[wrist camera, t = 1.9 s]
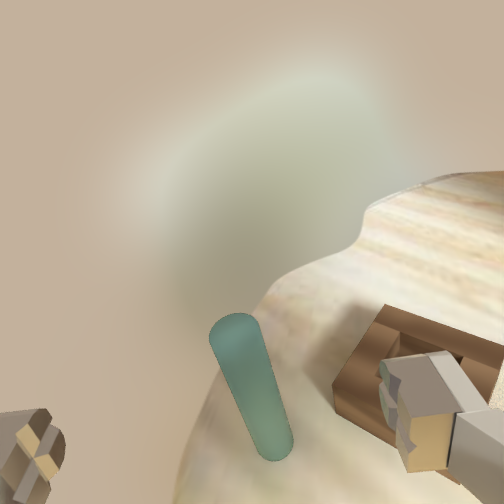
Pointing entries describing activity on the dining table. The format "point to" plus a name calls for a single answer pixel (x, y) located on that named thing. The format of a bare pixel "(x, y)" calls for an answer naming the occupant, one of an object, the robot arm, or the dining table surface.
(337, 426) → the dining table surface
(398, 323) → the socket block
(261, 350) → the peg
